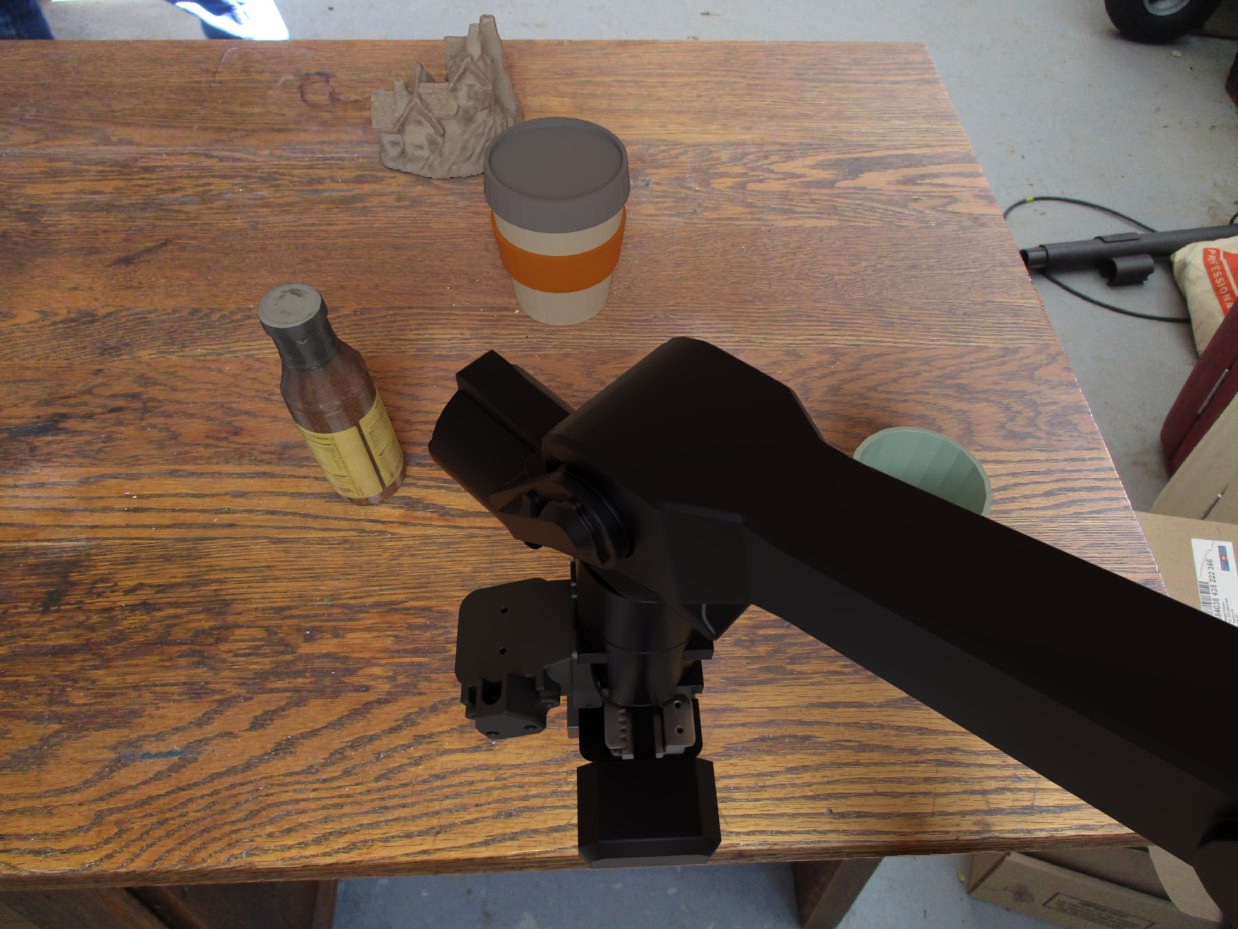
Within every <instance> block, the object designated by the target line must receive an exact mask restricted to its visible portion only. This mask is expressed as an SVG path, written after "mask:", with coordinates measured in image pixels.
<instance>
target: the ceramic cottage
mask: <svg viewBox="0 0 1238 929" xmlns="http://www.w3.org/2000/svg"><path fill="white" fill-rule="evenodd" d="M498 30H499V29H498V27H497V23H496V16H494V14H487V13H483V14H481V15H480V16H479V22H478V23H473V22H472V23H469V24H468V31H467V35H463V36H462V35H459V36H458V35H456V36H455V35H445V36H443V42H444V53H445V54H444V55H445V71H446V74H445V75H444V81H441V82H438V81H437V80H436V79H435V78H434V76H433V75H432V74H431V73H430V72H429V70H427V69H426V68H425V67H424V65H423V64H422V62H420V61H416V62H415V64H414V66H413V67H412V71H411V72H410V74H409V75H408V81H407V82H406V80H405V79H404V78H403V77H401V78H393V79H392V89H391V90H390V89H380V88H377V87H374V88H373V89H372V90H371V91H370V93H371V95H370V104H371V105H370V107H371V108H370V111H371V127H372V129H371V130H373V131H374V132H376V134H377V136H378V139H379V141H380V143H381V146H380V152H379V159H380V158H381V162H382V163H383V164H384V165H385V166H386V167H387V166H388V167H389V168H392V169H393V170H394V171H397V170H398V171H400V170H401V171H400V172H403V171H407V172H411V173H410V174H412V172H413V173H415V174H414V175H416V174H417V175H418V176H419V175H422V176H421V177H425V176H427V177H432V178H431V179H433V178H434V179H436V178H437V179H451V178H450V177H454V178H460V177H461V178H464V177H465V178H466V177H468V176H469V177H471V176H470V175H475V176H477V175H476V174H479V173H481V172H484V170H483V162H484V153H485V151H486V148H487V146H488V145H489V144H490V142H491V141H492V140H493V139H494V138H495V137H496V136H497V135H498V134H499V133H501V132H502V131H504V130H506V129H507V128H509V127H511V126H513V125H516V124H518V123H521V122H522V120H523V121H524V113H523V110H522V106H521V102H520V98H519V96H518V95H517V94H516V93H515V92H514V87H513V83H512V79H511V78H512V77H511V75H510V73H509V71H508V69H507V68H506V65H505V61H504V48H503V41H502V38H501V36H500V34H499V31H498ZM381 162H380V163H381ZM382 163H381V164H382ZM383 164H382V165H383ZM384 165H383V166H384ZM385 166H384V167H385ZM388 167H387V168H388ZM389 168H388V169H389ZM395 169H396V170H395ZM402 170H403V171H402ZM479 175H480V174H479Z"/></svg>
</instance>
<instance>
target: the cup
mask: <svg viewBox="0 0 1238 929" xmlns="http://www.w3.org/2000/svg"><path fill="white" fill-rule="evenodd" d="M852 457H853V458H854V459H856V460H858V461H860V462H862V463H864V464H866V465H868V466H870V467H873V468H875V469H877V470H879V471H882V472H884V473H886V474H889V475H891V476H893V477H895V478H898V479H900V480H902V481H905V482H907V483H909V484H912V485H914V486H916V487H918V488H921V489H923V490H925V491H928V492H930V493H932V494H934V495H937V496H939V497H941V498H944V499H946V500H948V501H951V502H953V503H955V504H957V505H960V506H962V507H964V508H967V509H969V510H971V511H974V512H976V513H978V514H980V515H983V516H985V517H987V518H989V515H990V512H991V507H992V503H993V497H994V496H993V490H992V486H991V480H990V477H989V476H988V473H987V472H986V471H985V470H986V469H984V467H983V465H982V463H981V462H980V460H979V459H977V457H975V455H974V454H973V453H972V452H971V451H970V450H969V449H968V448H966V447H965V446H964V445H963V444H961V443H959V442H958V441H956V440H954V439H953V438H951V437H950V436H948V435H946V434H944V433H942V432H941V433H940V432H939V431H935V430H931V429H929V428H927V427H919V426H910V425H909V426H908V425H900V426H895V427H887V428H884V429H881V430H879V431H877V432H875V433H873V434H871V435H869V436H867V437H866V438H865V439H864V440H863V441H862V442H861V443H860V445H858V447H857V448H855V451H854V453H853V455H852Z"/></svg>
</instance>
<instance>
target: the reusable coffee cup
mask: <svg viewBox="0 0 1238 929" xmlns="http://www.w3.org/2000/svg"><path fill="white" fill-rule="evenodd" d="M628 158H629V156H628V151H627V149H626V146H625V144H624V143H623V141H622V140H621V139H620V138H619V137H618V136H617V135H616V134H615V133H613V132H612V131H611V130H610V129H608V128H606V127H604V126H602V125H600V124H598V123H595V122H592V121H589V120H587V119H586V120H585V119H581V118H577V117H570V116H569V117H567V116H546V117H537V118H532V119H529V120H523V122H521V123H518V124H516V125H513V126H511V127H509V128H507V129H506V130H504V131H502V132H501V133H499V134H498V135H497V136H496V137H495V138H494V139H493V140H492V141H491V142H490V144H489V145H488V146H487V148H486V151H485V153H484V162H483V170H484V173H483V194H484V199H485V201H486V203H487V206H489V208H490V209H491V210H490V224H491V228H492V231H493V235H494V238H495V241H496V242H495V243H496V245H497V249H498V253H499V255H500V259H501V260H500V261H501V262H502V266H503V267H504V269H505V271H506V273H507V274H508V275H509V276H510V279H511V282H512V285H513V289H514V292H515V296H516V300H517V303H518V305H519V307H520V309H521V311H523V312H524V314H526V315H527V316H528V317H529V318H531V319H533V320H535V321H537V322H538V323H541V324H544V325H545V324H546V325H549V326H555V327H556V326H557V327H567V326H573V325H579V324H582V323H585V322H587V321H590V320H591V319H593V318H594V317H595V316H598V314H600V312H601V311H602V310H603V309H604V308H605V306H606V305H607V302H608V298H609V293H610V287H611V281H612V276H613V273H614V271H615V269H616V267H617V266H618V264H619V260H620V255H621V251H622V245H623V239H624V235H625V234H624V233H625V228H626V222H627V208H626V206H625V205H626V204H627V202H628V200H629V199H630V198H629V197H630V193H631V179H630V167H629V159H628Z"/></svg>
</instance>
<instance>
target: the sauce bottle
mask: <svg viewBox="0 0 1238 929" xmlns="http://www.w3.org/2000/svg"><path fill="white" fill-rule="evenodd" d="M256 314H257V317H258V320H259V322H260V325H261V327H262V330H263V331H264V332H265V333H266V334H267V335H268V336H269V337H270V338H271V340H272V342H273V343H274V346H275V347H276V349H277V351H278V356H279V358H280V361H281V376H280V383H279V391H280V396H282V397H281V398H282V399H283V401H284V403H285V405H286V408H287V409H288V412H289V414H290V417H291V419H292V420H293V422H294V424H295V426H296V427H297V429H298V431H299V433H300V436H301V437H302V439H303V441H304V442H305V444H306V446H307V448H308V450H309V451H310V453H311V455H312V457H313V458H314V461H315V462H316V464H317V465H318V467H319V469H320V471H321V472H322V474H323V477H324V478H325V480H326V482H327V483H328V485H329V487H330V488H331V489H332V490H333V491H334V493H335V494H336V495H337V496H338V497H340V498H341V499H343V500H345V501H346V502H348V503H351V504H355V505H357V506H368V505H374V504H377V503H379V502H383V501H384V500H387V499H389V498H391V497H392V496H394V494H396V492H397V491H398V490H399V489H400V488H401V485H402V483H403V482H404V480H405V476H406V472H407V469H406V468H407V467H406V464H405V460H404V454H403V450H402V447H401V445H400V442H399V440H398V437H397V435H396V433H395V430H394V427H393V425H392V423H391V420H390V418H389V415H388V413H387V410H386V408H385V405H384V403H383V400H382V397H381V395H380V393H379V390H378V386H377V385H376V382H375V380H374V378H373V377H372V376H371V374H370V371H369V369H368V366H367V364H366V362H365V360H364V358H363V355H362V354H361V352H360V351H359V350H358V349H355V348H353V347H352V346H351V345H349V344H348V343H347V342H345V341H344V340H342V339H340V338H339V337H338V335H337V333H335V331H334V329H333V327H332V324H331V322H330V320H329V317H328V316H329V315H328V314H329V308H328V305H327V303H326V302H325V300H324V298H323V295H322V294H321V293H320V291H319V290H318V289H317V288H316V287H314V286H313V285H310V284H308V283H303V282H292V283H285V284H281V285H277V286H275V287H272V288H271V289H269V291H267V292H266V293H265V294H264V295H263V296H262V297H261V299H260V300H259V301H258V304H257V309H256Z"/></svg>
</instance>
